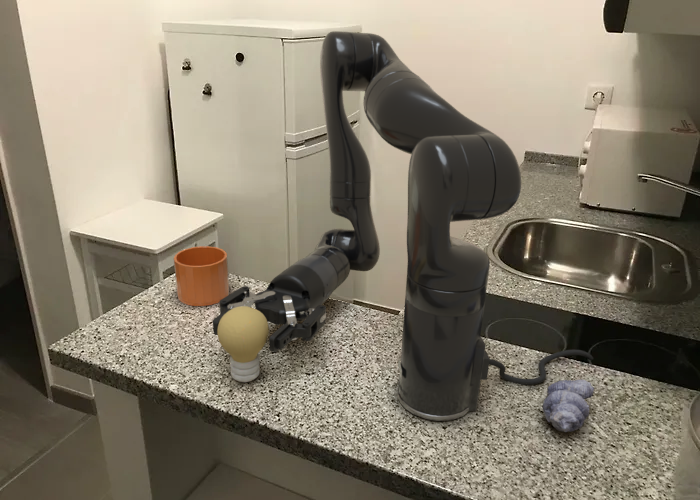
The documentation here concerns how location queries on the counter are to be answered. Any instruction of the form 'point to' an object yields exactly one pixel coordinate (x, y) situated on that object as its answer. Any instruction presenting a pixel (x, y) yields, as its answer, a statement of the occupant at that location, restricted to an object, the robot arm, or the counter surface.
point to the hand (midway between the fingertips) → (243, 337)
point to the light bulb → (243, 340)
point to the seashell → (567, 404)
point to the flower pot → (201, 275)
